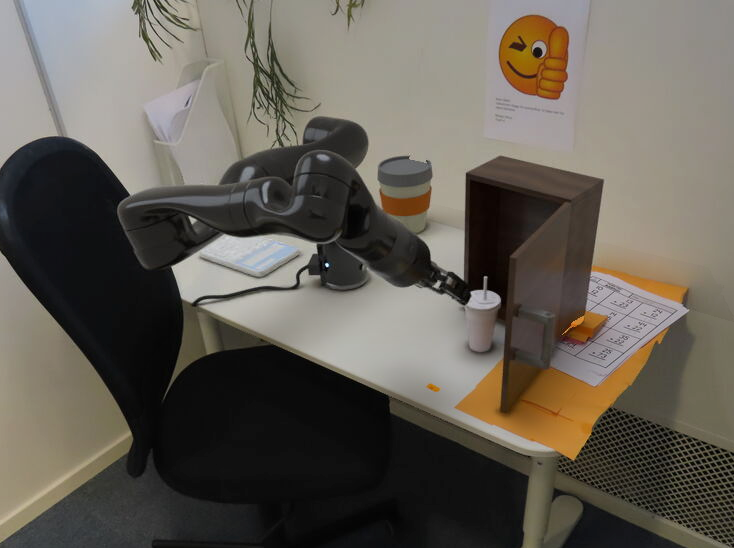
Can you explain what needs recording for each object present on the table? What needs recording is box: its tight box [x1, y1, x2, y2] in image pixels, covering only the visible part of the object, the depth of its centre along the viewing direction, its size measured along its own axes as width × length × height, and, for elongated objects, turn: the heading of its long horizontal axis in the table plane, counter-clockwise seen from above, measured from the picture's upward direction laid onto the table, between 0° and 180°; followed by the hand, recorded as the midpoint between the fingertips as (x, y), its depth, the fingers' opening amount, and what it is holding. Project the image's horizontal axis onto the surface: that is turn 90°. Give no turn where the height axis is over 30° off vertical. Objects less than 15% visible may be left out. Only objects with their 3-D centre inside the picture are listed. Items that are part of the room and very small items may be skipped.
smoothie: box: [462, 276, 501, 353], centre depth 117 cm, size 6×6×14 cm
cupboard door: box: [499, 202, 572, 414], centre depth 104 cm, size 6×20×27 cm, turn 146°
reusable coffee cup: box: [377, 155, 434, 234], centre depth 159 cm, size 12×13×15 cm
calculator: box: [199, 235, 300, 278], centre depth 155 cm, size 13×20×2 cm, turn 53°
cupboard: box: [462, 155, 605, 346], centre depth 121 cm, size 10×20×27 cm, turn 46°
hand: (444, 290), depth 106 cm, fingers open, 8 cm apart
